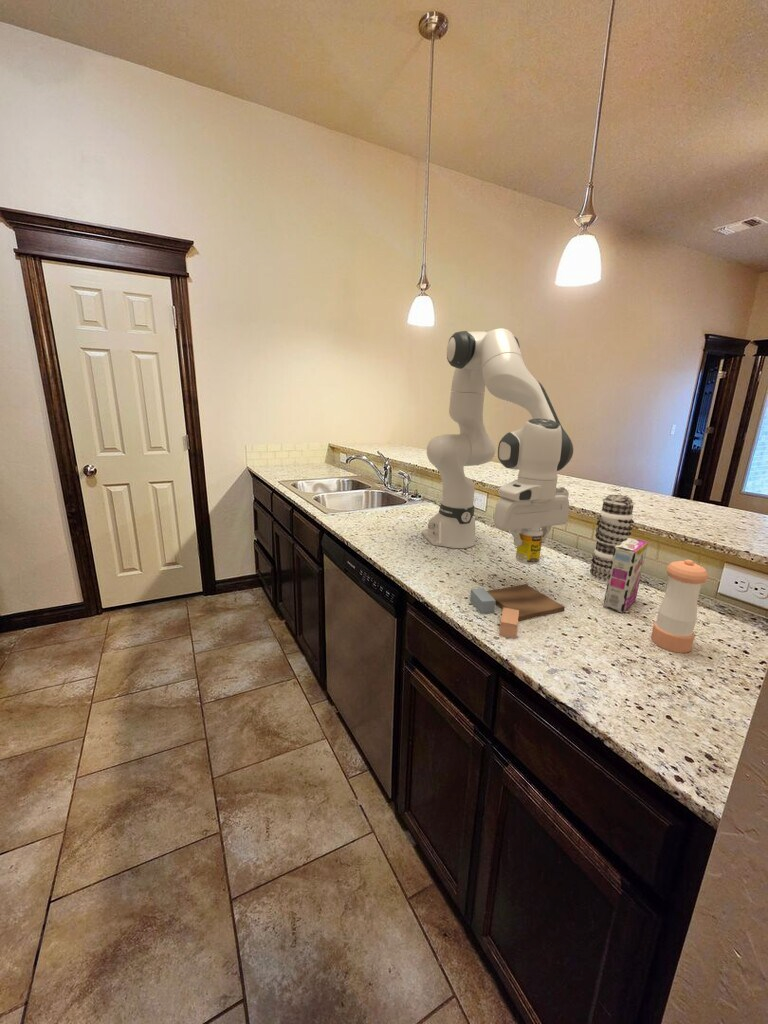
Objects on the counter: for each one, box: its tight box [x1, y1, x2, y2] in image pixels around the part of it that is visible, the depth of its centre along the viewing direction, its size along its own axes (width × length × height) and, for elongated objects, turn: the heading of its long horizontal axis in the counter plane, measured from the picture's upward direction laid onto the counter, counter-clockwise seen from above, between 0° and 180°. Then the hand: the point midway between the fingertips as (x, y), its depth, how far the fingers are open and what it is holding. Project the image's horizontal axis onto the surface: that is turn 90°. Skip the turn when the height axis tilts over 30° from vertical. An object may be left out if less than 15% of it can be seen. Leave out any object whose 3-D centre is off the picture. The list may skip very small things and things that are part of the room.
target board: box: [486, 583, 566, 622], centre depth 105 cm, size 14×14×1 cm
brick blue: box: [469, 587, 496, 615], centre depth 103 cm, size 7×4×4 cm, turn 11°
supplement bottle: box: [515, 524, 543, 566], centre depth 101 cm, size 6×6×10 cm
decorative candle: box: [588, 494, 636, 585], centre depth 118 cm, size 9×9×25 cm
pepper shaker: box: [650, 559, 709, 654], centre depth 86 cm, size 7×7×19 cm
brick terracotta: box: [499, 607, 519, 639], centre depth 93 cm, size 7×4×4 cm, turn 160°
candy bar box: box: [602, 537, 649, 614], centre depth 104 cm, size 11×5×16 cm, turn 135°
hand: (529, 544), depth 101 cm, fingers closed on supplement bottle, 5 cm apart
